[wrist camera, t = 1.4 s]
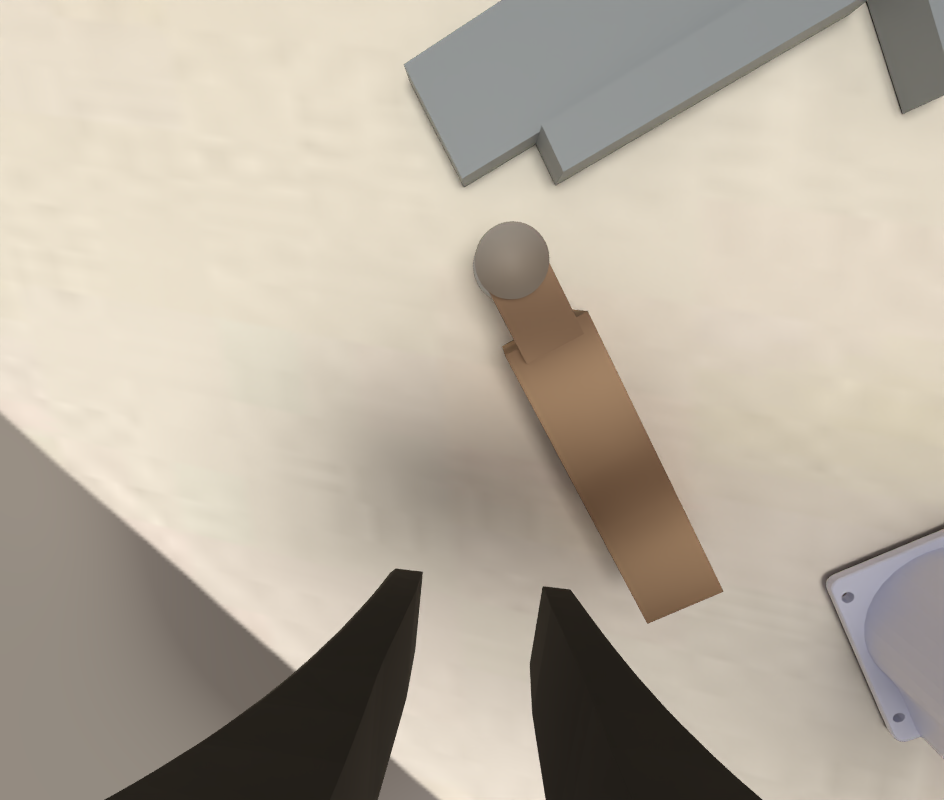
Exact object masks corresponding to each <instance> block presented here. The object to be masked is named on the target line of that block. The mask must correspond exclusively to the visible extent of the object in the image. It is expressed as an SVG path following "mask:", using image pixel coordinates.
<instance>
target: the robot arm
mask: <svg viewBox="0 0 944 800" xmlns="http://www.w3.org/2000/svg"><path fill="white" fill-rule="evenodd" d="M422 574H423V572H419V571H411V570H403V569H395V570H393V571H392V572H390V574H389V575H388V576H387V578H386V579H385V580H384V582H383V583H382V584H381V585H380V587H379V588H378V589H377V590H376V591H375V593H374V594H373V595H372V596H371V597H370V598H369V600H368V601H367V602H366V603H365V604H364V605H363V606H362V607H361V609H360V610H359V611H358V612H357V613H356V614H355V615H354V616H353V617H352V618H351V619H350V620H349V621H348V622H347V623H346V624H345V626H344V627H343V628H342V629H341V630H340V631H339V632H338V633H337V634H336V635H335V636H334V637H332V638H331V639H330V640H329V641H328V642H327V643H326V644H325V645H324V646H323V647H322V648H321V649H320V650H319V651H318V652H317V653H316V654H315V655H313V656H312V657H311V658H310V659H309V660H308V661H307V662H306V663H305V664H304V665H302V666H301V667H300V668H299V669H298V670H297V671H295V672H294V673H293V674H292V675H291V676H290V677H288V678H287V679H286V680H285V681H284V682H282V683H281V684H280V685H279V686H278V687H276V688H275V689H274V690H272V691H271V692H270V693H269V694H267V695H266V696H265V697H264V698H262V699H261V700H260V701H258V702H257V703H256V704H254V705H253V706H251V707H250V708H249V709H247V710H246V711H245V712H243V713H242V714H241V715H239V716H238V717H236V718H235V719H234V720H232V721H231V722H229V723H228V724H227V725H225V726H224V727H223V728H221V729H220V730H218V731H217V732H215V733H214V734H212V735H211V736H209V737H208V738H207V739H205V740H203V741H202V742H200V743H199V744H197V745H196V746H194V747H192V748H191V749H189V750H188V751H186V752H184V753H183V754H181V755H180V756H178V757H176V758H175V759H173V760H172V761H170V762H169V763H167V764H165V765H164V766H162V767H160V768H159V769H157V770H156V771H154V772H152V773H150V774H149V775H147V776H145V777H144V778H142V779H140V780H139V781H137V782H135V783H134V784H132V785H130V786H128V787H127V788H125V789H123V790H121V791H119V792H118V793H116V794H114V795H113V796H111V797H109V798H107V799H105V800H378V797H379V792H380V790H381V786H382V783H383V779H384V775H385V772H386V768H387V765H388V761H389V758H390V754H391V751H392V747H393V744H394V740H395V737H396V733H397V730H398V726H399V723H400V719H401V716H402V712H403V708H404V705H405V701H406V697H407V692H408V686H409V681H410V676H411V670H412V665H413V659H414V653H415V646H416V636H417V626H418V615H419V605H420V595H421V585H422ZM826 588H827V590H828V593H829V595H830V597H831V600H832V602H833V604H834V607H835V609H836V611H837V613H838V616H839V618H840V620H841V623H842V625H843V627H844V630H845V632H846V634H847V637H848V639H849V641H850V644H851V646H852V648H853V651H854V653H855V655H856V657H857V660H858V662H859V664H860V667H861V669H862V671H863V674H864V676H865V678H866V681H867V683H868V685H869V688H870V690H871V692H872V694H873V697H874V699H875V701H876V704H877V706H878V708H879V711H880V713H881V715H882V718H883V720H884V722H885V725H886V727H887V729H888V731H889V732H890V734H891V735H892V736H893V737H894V738H895V739H896V740H898V741H904V742H905V741H909V740H912V739H915V738H918V737H921V736H922V737H923V738H924V740H925V741H926V742H927V743H928V744H929V745H930V746H931V747H932V748H933V749H934V750H935V751H936V752H937V753H938V754H939V755H940V756H941V757H942V758H943V759H944V529H942V530H939V531H937V532H935V533H932V534H930V535H927V536H925V537H923V538H920V539H918V540H915V541H913V542H910V543H908V544H906V545H903V546H901V547H898V548H896V549H894V550H891V551H889V552H886V553H884V554H881V555H879V556H877V557H874V558H872V559H869V560H867V561H865V562H862V563H860V564H857V565H855V566H852V567H850V568H848V569H845V570H843V571H840V572H838V573H836V574H833V575H832V576H830V577H829V578H828V579H827V582H826ZM846 592H847V593H846ZM845 593H846V595H844V596H842V595H843V594H845ZM530 678H531V698H532V714H533V721H534V728H535V734H536V741H537V747H538V754H539V760H540V766H541V773H542V779H543V785H544V791H545V798H546V800H762V799H761V798H760V797H759V796H757V795H756V794H755V793H754V792H753V791H752V790H751V789H749V788H748V787H747V786H746V785H745V784H744V783H743V782H741V781H740V780H739V779H738V778H737V777H736V776H735V775H733V774H732V773H731V772H730V771H729V770H728V769H727V768H726V767H725V766H724V765H723V764H722V763H720V762H719V761H718V760H717V759H716V758H715V757H714V756H713V755H712V754H711V753H710V752H709V751H708V750H707V749H706V748H705V747H704V746H703V745H702V744H701V743H700V742H699V741H698V740H697V739H696V738H695V737H694V736H693V735H692V734H691V733H689V732H688V731H687V730H686V729H685V728H684V727H683V726H682V725H681V724H680V723H679V722H678V721H677V719H676V718H675V717H674V716H673V715H672V714H671V713H670V712H669V711H668V710H667V709H666V708H665V707H664V706H663V705H662V704H661V702H660V701H659V700H658V699H657V698H656V697H655V696H654V695H653V693H652V692H651V691H650V690H649V689H648V688H647V687H646V686H645V685H644V683H643V682H642V681H641V680H640V679H639V678H638V677H637V675H636V674H635V673H634V672H633V671H632V669H631V668H630V667H629V666H628V665H627V663H626V662H625V661H624V660H623V658H622V657H621V656H620V655H619V653H618V652H617V651H616V650H615V648H614V647H613V646H612V645H611V643H610V642H609V641H608V640H607V638H606V637H605V636H604V634H603V633H602V632H601V630H600V629H599V628H598V626H597V625H596V624H595V622H594V621H593V620H592V618H591V617H590V616H589V614H588V613H587V612H586V610H585V609H584V607H583V606H582V605H581V603H580V602H579V601H578V599H577V598H576V597H575V595H574V594H573V593H572V591H571V590H569V589H560V588H552V587H544V586H543V588H542V594H541V600H540V606H539V612H538V618H537V624H536V630H535V636H534V642H533V648H532V654H531V660H530Z"/></svg>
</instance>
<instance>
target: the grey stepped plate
mask: <svg viewBox="0 0 944 800" xmlns="http://www.w3.org/2000/svg"><path fill="white" fill-rule="evenodd" d="M866 1H867V3H868V6H869V9H870V13H871V16H872V19H873V22H874V25H875V28H876V31H877V34H878V38H879V41H880V44H881V47H882V50H883V53H884V56H885V60H886V63H887V66H888V69H889V72H890V75H891V78H892V82H893V85H894V88H895V91H896V94H897V97H898V100H899V104H900V107H901V110H902V113H906V112H908V111H910V110H912V109H915V108H917V107H919V106H921V105H924V104H926V103H928V102H930V101H932V100H935V99H937V98H939V97H941V96H944V0H501V1H500V2H498V3H497V4H495V5H493V6H492V7H490V8H489V9H487V10H486V11H484V12H483V13H481V14H480V15H478V16H477V17H475V18H474V19H472V20H471V21H469V22H468V23H466V24H465V25H463V26H462V27H460V28H458V29H457V30H455V31H454V32H452V33H451V34H449V35H448V36H446V37H445V38H443V39H442V40H440V41H439V42H437V43H436V44H434V45H433V46H431V47H430V48H428V49H426V50H425V51H423V52H422V53H420V54H419V55H417V56H416V57H414V58H413V59H411V60H410V61H408V62H407V63H405V64H404V67H405V69H406V72H407V75H408V78H409V81H410V83H411V85H412V87H413V89H414V91H415V93H416V95H417V97H418V98H419V100H420V102H421V104H422V106H423V108H424V110H425V112H426V114H427V116H428V118H429V120H430V122H431V124H432V126H433V128H434V130H435V132H436V134H437V136H438V138H439V140H440V142H441V143H442V145H443V147H444V149H445V151H446V153H447V155H448V157H449V159H450V161H451V163H452V165H453V167H454V169H455V171H456V173H457V175H458V177H459V179H460V181H461V183H462V185H463V187H465V186H467V185H468V184H470V183H472V182H473V181H475V180H477V179H478V178H480V177H482V176H483V175H485V174H487V173H488V172H490V171H492V170H493V169H495V168H497V167H498V166H500V165H502V164H503V163H505V162H507V161H508V160H510V159H512V158H513V157H515V156H517V155H518V154H520V153H522V152H523V151H525V150H527V149H528V148H530V147H532V146H533V145H535V144H536V145H537V147H538V149H539V152H540V154H541V156H542V158H543V160H544V162H545V164H546V166H547V168H548V171H549V173H550V175H551V177H552V179H553V181H554V183H555V185H557V184H559V183H561V182H562V181H564V180H566V179H567V178H569V177H571V176H573V175H574V174H576V173H578V172H580V171H581V170H583V169H585V168H586V167H588V166H590V165H592V164H593V163H595V162H597V161H598V160H600V159H602V158H604V157H605V156H607V155H609V154H610V153H612V152H614V151H616V150H617V149H619V148H621V147H622V146H624V145H626V144H628V143H629V142H631V141H633V140H634V139H636V138H638V137H640V136H641V135H643V134H645V133H646V132H648V131H650V130H652V129H653V128H655V127H657V126H658V125H660V124H662V123H664V122H665V121H667V120H669V119H670V118H672V117H674V116H676V115H677V114H679V113H681V112H682V111H684V110H686V109H688V108H689V107H691V106H693V105H695V104H696V103H698V102H700V101H701V100H703V99H705V98H707V97H708V96H710V95H712V94H713V93H715V92H717V91H719V90H720V89H722V88H724V87H725V86H727V85H729V84H731V83H732V82H734V81H736V80H737V79H739V78H741V77H743V76H744V75H746V74H748V73H749V72H751V71H753V70H755V69H756V68H758V67H760V66H761V65H763V64H765V63H767V62H768V61H770V60H772V59H773V58H775V57H777V56H779V55H780V54H782V53H784V52H785V51H787V50H789V49H791V48H792V47H794V46H796V45H798V44H799V43H801V42H803V41H804V40H806V39H808V38H810V37H811V36H813V35H815V34H816V33H818V32H820V31H822V30H823V29H825V28H827V27H828V26H830V25H832V24H834V23H835V22H837V21H839V20H840V19H842V18H844V17H846V16H847V15H849V14H851V13H852V12H853V11H854V10H856V9H857V8H858V7H859V6H861V5H862V4H863V3H864V2H866ZM473 270H474V275H475V279H476V281H477V283H478V285H479V287H480V288H481V290H482V291H483V292H484V293H485V294H486V295H487V296H489V297H490V298H492V297H491V295H490V293H489V292H488V291H487V290H486V289H485V288H484V287H483V285H482V284H481V282H480V281H479V278H478V276H477V273H476V270H475V256H474V262H473Z"/></svg>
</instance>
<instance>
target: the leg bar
mask: <svg viewBox="0 0 944 800" xmlns="http://www.w3.org/2000/svg"><path fill="white" fill-rule="evenodd" d="M475 270H476V273H477V276H478V278H479V281H480V282H481V284H482V285H483V287H484V288H485V289H486V290H487V291H488V292H489V293H490V295H491V297H492V299H493V301H494V302H495V304H496V306H497V308H498V310H499V312H500V314H501V316H502V318H503V320H504V322H505V323H506V325H507V327H508V329H509V331H510V333H511V335H512V337H513V339H514V340H513V341H511V342H509V343H507V344H506V345H504V346H502V347H503V350H504V354H505V356H506V358H507V360H508V362H509V364H510V366H511V368H512V370H513V371H514V373H515V375H516V377H517V379H518V381H519V383H520V385H521V387H522V388H523V390H524V392H525V394H526V396H527V398H528V400H529V402H530V403H531V405H532V407H533V409H534V411H535V413H536V415H537V417H538V419H539V420H540V422H541V424H542V426H543V428H544V430H545V432H546V434H547V435H548V437H549V439H550V441H551V443H552V445H553V447H554V449H555V451H556V452H557V454H558V456H559V458H560V460H561V462H562V464H563V466H564V468H565V469H566V471H567V473H568V475H569V477H570V479H571V481H572V483H573V484H574V486H575V488H576V490H577V492H578V494H579V496H580V498H581V500H582V501H583V503H584V505H585V507H586V509H587V511H588V513H589V515H590V516H591V518H592V520H593V522H594V524H595V526H596V528H597V530H598V532H599V533H600V535H601V537H602V539H603V541H604V543H605V545H606V547H607V548H608V550H609V552H610V554H611V556H612V558H613V560H614V562H615V564H616V565H617V567H618V569H619V571H620V573H621V575H622V577H623V579H624V581H625V582H626V584H627V586H628V588H629V590H630V592H631V594H632V596H633V597H634V599H635V601H636V603H637V605H638V607H639V609H640V611H641V613H642V614H643V616H644V618H645V620H646V622H647V624H648V623H650V622H653V621H655V620H657V619H660V618H662V617H665V616H667V615H669V614H672V613H674V612H676V611H679V610H681V609H683V608H686V607H688V606H691V605H693V604H695V603H698V602H700V601H702V600H705V599H707V598H709V597H712V596H714V595H717V594H719V593H721V592H723V590H722V588H721V586H720V583H719V581H718V579H717V577H716V575H715V573H714V571H713V569H712V567H711V565H710V563H709V561H708V559H707V557H706V555H705V552H704V550H703V548H702V546H701V544H700V542H699V540H698V538H697V536H696V534H695V532H694V530H693V528H692V526H691V524H690V522H689V519H688V517H687V515H686V513H685V511H684V509H683V507H682V505H681V503H680V501H679V499H678V497H677V495H676V493H675V491H674V488H673V486H672V484H671V482H670V480H669V478H668V476H667V474H666V472H665V470H664V468H663V466H662V464H661V462H660V460H659V458H658V455H657V453H656V451H655V449H654V447H653V445H652V443H651V441H650V439H649V437H648V435H647V433H646V431H645V429H644V427H643V425H642V422H641V420H640V418H639V416H638V414H637V412H636V410H635V408H634V406H633V404H632V402H631V400H630V398H629V396H628V394H627V391H626V389H625V387H624V385H623V383H622V381H621V379H620V377H619V375H618V373H617V371H616V369H615V367H614V365H613V363H612V361H611V358H610V356H609V354H608V352H607V350H606V348H605V346H604V344H603V342H602V340H601V338H600V336H599V334H598V332H597V330H596V327H595V325H594V323H593V321H592V319H591V317H590V315H589V313H588V311H581V310H572V308H571V306H570V304H569V302H568V300H567V298H566V296H565V294H564V292H563V290H562V288H561V286H560V284H559V282H558V280H557V278H556V276H555V273H554V271H553V269H552V267H551V265H550V263H549V251H548V247H547V245H546V242H545V241H544V239H543V237H542V236H541V235H540V233H539V232H538V231H537V230H535V229H534V228H533V227H531V226H529V225H527V224H525V223H521V222H514V221H513V222H504V223H501V224H498V225H496V226H494V227H493V228H491V229H490V230H489V231H488V232H487V233H486V234H485V235H484V236H483V237H482V239H481V240H480V242H479V244H478V246H477V249H476V253H475Z"/></svg>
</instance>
